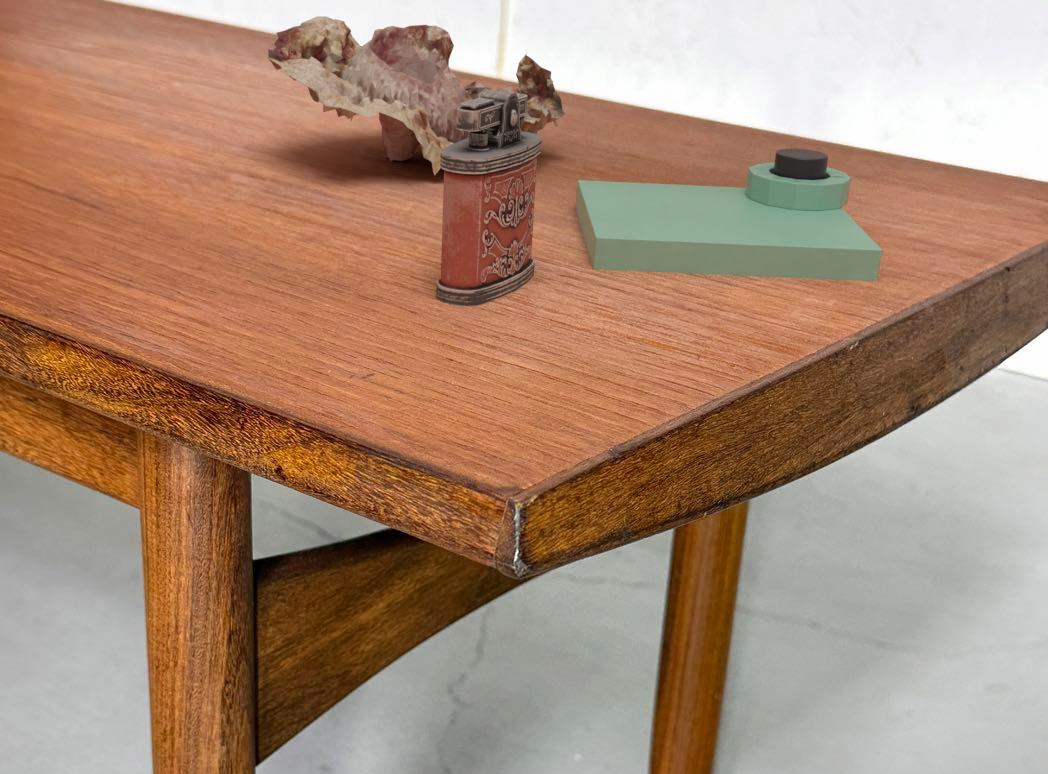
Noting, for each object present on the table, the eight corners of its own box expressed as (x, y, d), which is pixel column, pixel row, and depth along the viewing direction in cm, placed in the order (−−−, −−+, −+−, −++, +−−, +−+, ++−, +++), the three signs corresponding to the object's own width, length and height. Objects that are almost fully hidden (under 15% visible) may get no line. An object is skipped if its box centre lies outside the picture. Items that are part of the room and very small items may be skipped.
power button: (818, 174, 94) (822, 149, 93) (829, 185, 91) (833, 160, 90) (768, 172, 93) (771, 147, 93) (778, 183, 91) (781, 158, 90)
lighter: (491, 264, 82) (500, 78, 78) (547, 274, 81) (559, 86, 77) (421, 300, 76) (426, 99, 71) (480, 311, 75) (489, 108, 70)
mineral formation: (291, 176, 94) (355, 35, 89) (220, 62, 104) (274, -70, 100) (564, 255, 108) (632, 136, 103) (477, 147, 118) (535, 35, 113)
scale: (828, 218, 96) (836, 164, 95) (887, 283, 83) (897, 221, 82) (574, 207, 95) (578, 152, 94) (593, 271, 82) (598, 208, 81)
